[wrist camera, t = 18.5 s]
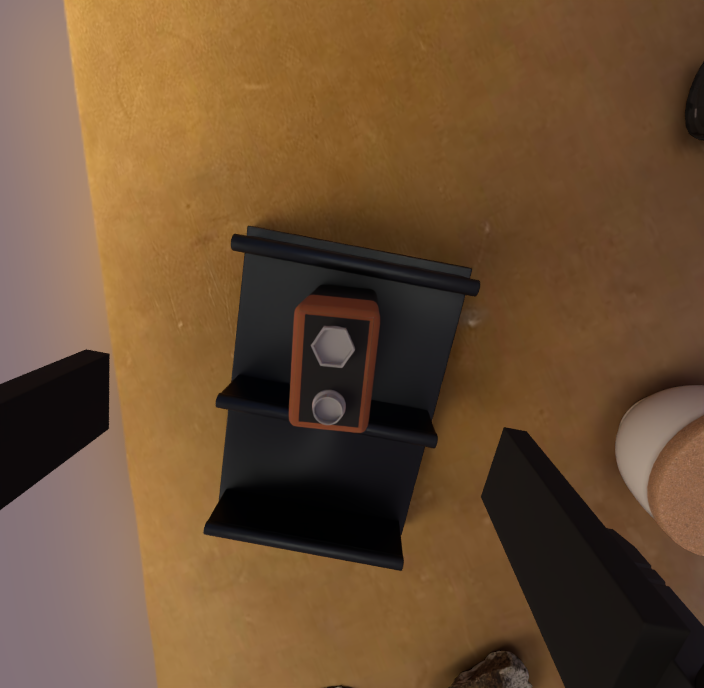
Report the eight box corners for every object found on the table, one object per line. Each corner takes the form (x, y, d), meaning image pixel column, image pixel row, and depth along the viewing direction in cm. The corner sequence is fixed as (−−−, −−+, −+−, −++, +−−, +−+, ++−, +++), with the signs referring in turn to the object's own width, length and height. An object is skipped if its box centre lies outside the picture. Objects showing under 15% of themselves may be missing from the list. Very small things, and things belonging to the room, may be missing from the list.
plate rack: (223, 492, 34) (195, 541, 28) (252, 226, 28) (223, 223, 22) (400, 525, 34) (406, 580, 29) (468, 267, 28) (492, 274, 22)
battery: (377, 288, 27) (382, 315, 18) (367, 377, 29) (367, 445, 20) (317, 282, 27) (289, 306, 18) (311, 371, 29) (282, 436, 20)
